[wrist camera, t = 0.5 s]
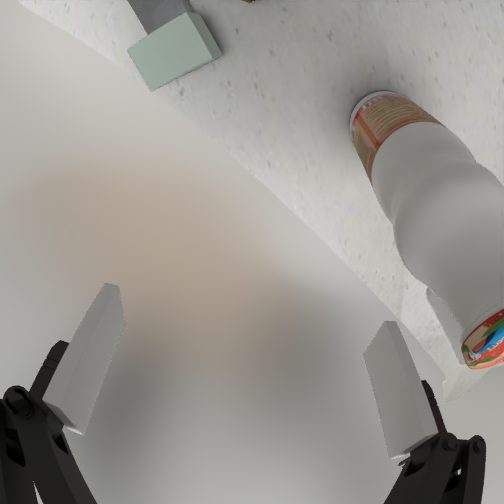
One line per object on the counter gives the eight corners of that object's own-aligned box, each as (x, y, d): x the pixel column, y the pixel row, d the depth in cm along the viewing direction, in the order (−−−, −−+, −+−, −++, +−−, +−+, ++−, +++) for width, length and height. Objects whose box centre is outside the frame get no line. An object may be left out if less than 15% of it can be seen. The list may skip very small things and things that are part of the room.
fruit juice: (373, 73, 24) (564, 249, 4) (432, 119, 26) (580, 313, 6) (333, 135, 30) (385, 380, 11) (391, 173, 32) (470, 390, 13)
